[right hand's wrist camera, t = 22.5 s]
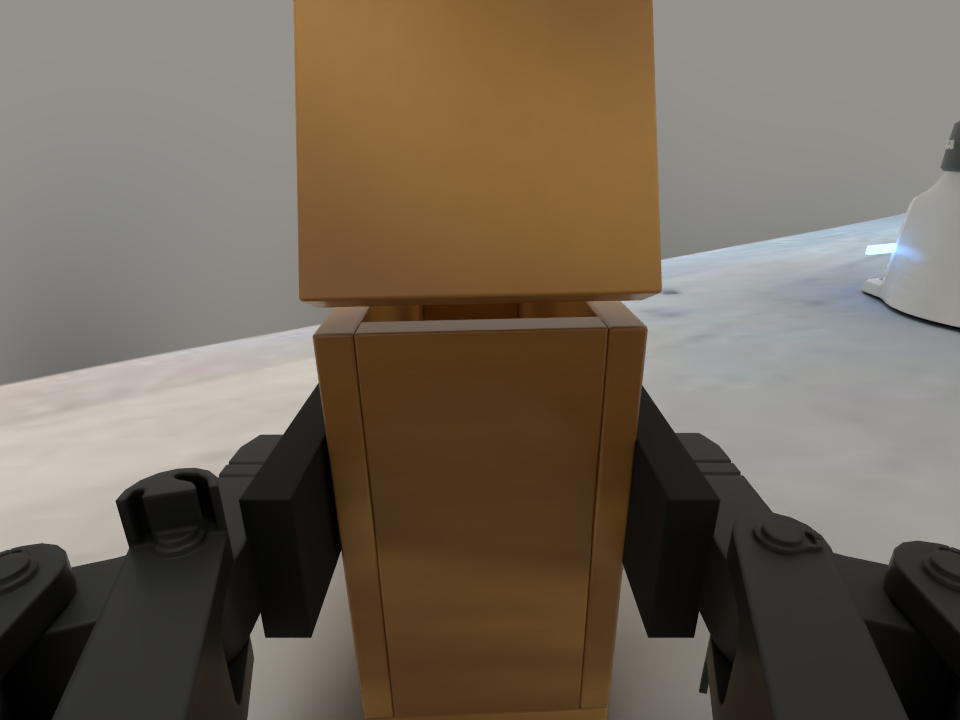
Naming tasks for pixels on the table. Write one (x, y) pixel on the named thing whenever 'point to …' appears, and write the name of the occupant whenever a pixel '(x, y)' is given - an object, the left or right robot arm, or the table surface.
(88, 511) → the table surface
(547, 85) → the lid
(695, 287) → the table surface
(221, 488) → the right robot arm
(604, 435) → the chest
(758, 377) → the table surface
